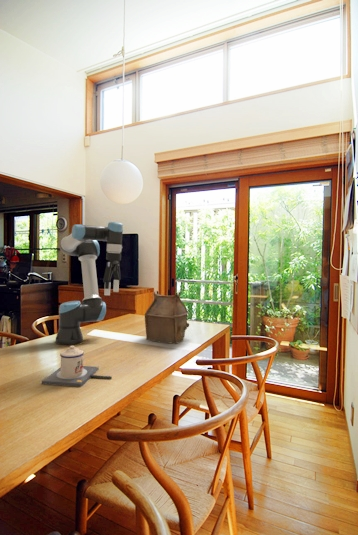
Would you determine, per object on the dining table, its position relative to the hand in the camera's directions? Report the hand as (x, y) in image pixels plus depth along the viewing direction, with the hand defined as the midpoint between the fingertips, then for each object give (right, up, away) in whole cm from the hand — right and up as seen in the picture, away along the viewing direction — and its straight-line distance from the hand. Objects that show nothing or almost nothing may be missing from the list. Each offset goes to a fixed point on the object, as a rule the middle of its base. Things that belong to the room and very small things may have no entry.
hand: (111, 293), depth 155 cm
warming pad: (-5, -32, -31) cm, 45 cm away
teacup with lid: (-9, -31, -31) cm, 44 cm away
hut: (+27, -31, +31) cm, 52 cm away
